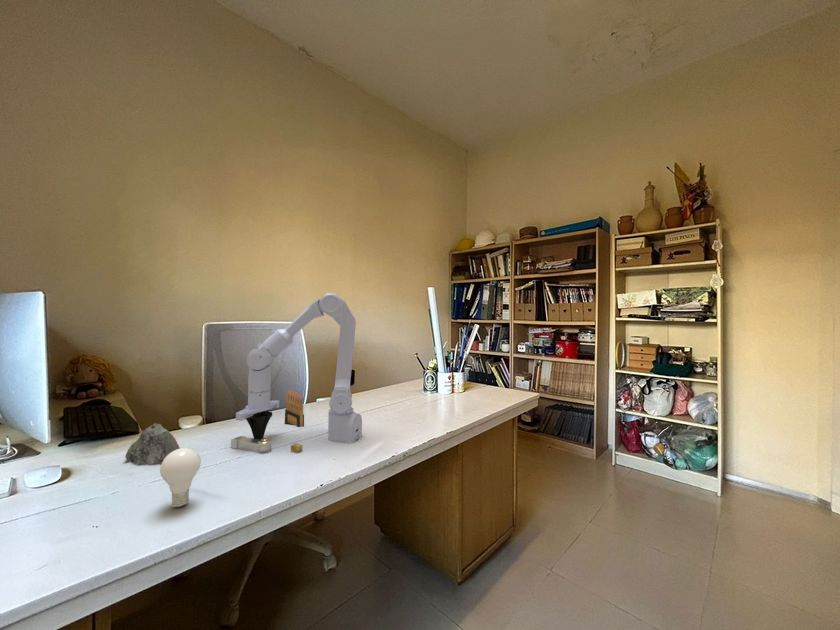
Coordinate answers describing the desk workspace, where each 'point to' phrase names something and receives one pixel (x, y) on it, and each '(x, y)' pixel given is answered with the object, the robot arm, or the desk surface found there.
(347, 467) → the desk surface
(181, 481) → the lightbulb
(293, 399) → the ammunition clip
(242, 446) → the swing bar
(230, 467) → the desk surface
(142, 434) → the mineral rock
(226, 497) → the desk surface
